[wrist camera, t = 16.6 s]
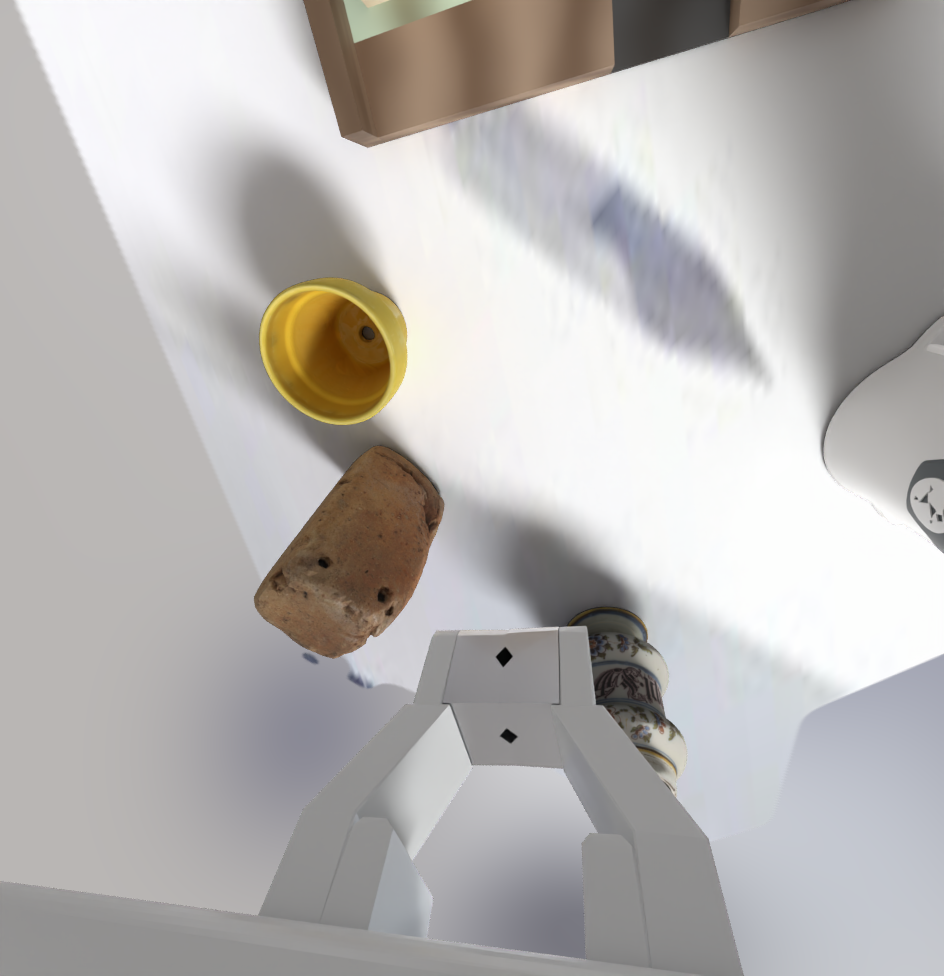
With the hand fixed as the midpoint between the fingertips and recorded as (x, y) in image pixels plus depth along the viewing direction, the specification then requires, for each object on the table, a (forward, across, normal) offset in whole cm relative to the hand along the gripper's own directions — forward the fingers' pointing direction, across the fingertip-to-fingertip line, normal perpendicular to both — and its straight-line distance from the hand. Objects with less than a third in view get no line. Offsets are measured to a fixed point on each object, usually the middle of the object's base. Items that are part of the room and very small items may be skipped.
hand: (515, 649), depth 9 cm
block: (+34, +17, +14) cm, 41 cm away
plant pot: (+34, +15, -2) cm, 37 cm away
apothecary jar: (+34, -3, +38) cm, 51 cm away
